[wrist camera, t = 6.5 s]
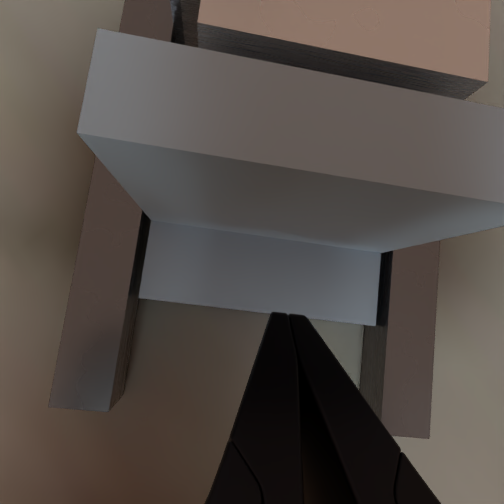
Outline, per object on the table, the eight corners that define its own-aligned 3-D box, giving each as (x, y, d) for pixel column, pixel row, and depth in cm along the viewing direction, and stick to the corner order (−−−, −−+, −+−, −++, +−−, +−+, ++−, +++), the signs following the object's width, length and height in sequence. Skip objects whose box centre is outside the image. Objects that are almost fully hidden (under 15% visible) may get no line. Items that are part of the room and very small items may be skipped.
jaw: (359, 322, 15) (562, 367, 6) (145, 297, 14) (41, 308, 5) (369, 202, 16) (564, 95, 7) (166, 170, 15) (102, 0, 6)
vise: (400, 419, 15) (523, 502, 9) (71, 390, 14) (-36, 467, 8) (423, 67, 17) (534, -50, 11) (140, 9, 16) (99, -159, 10)
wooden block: (333, 198, 16) (487, 81, 7) (205, 177, 15) (197, 21, 6) (342, 98, 17) (495, -123, 8) (219, 75, 16) (231, -196, 7)
